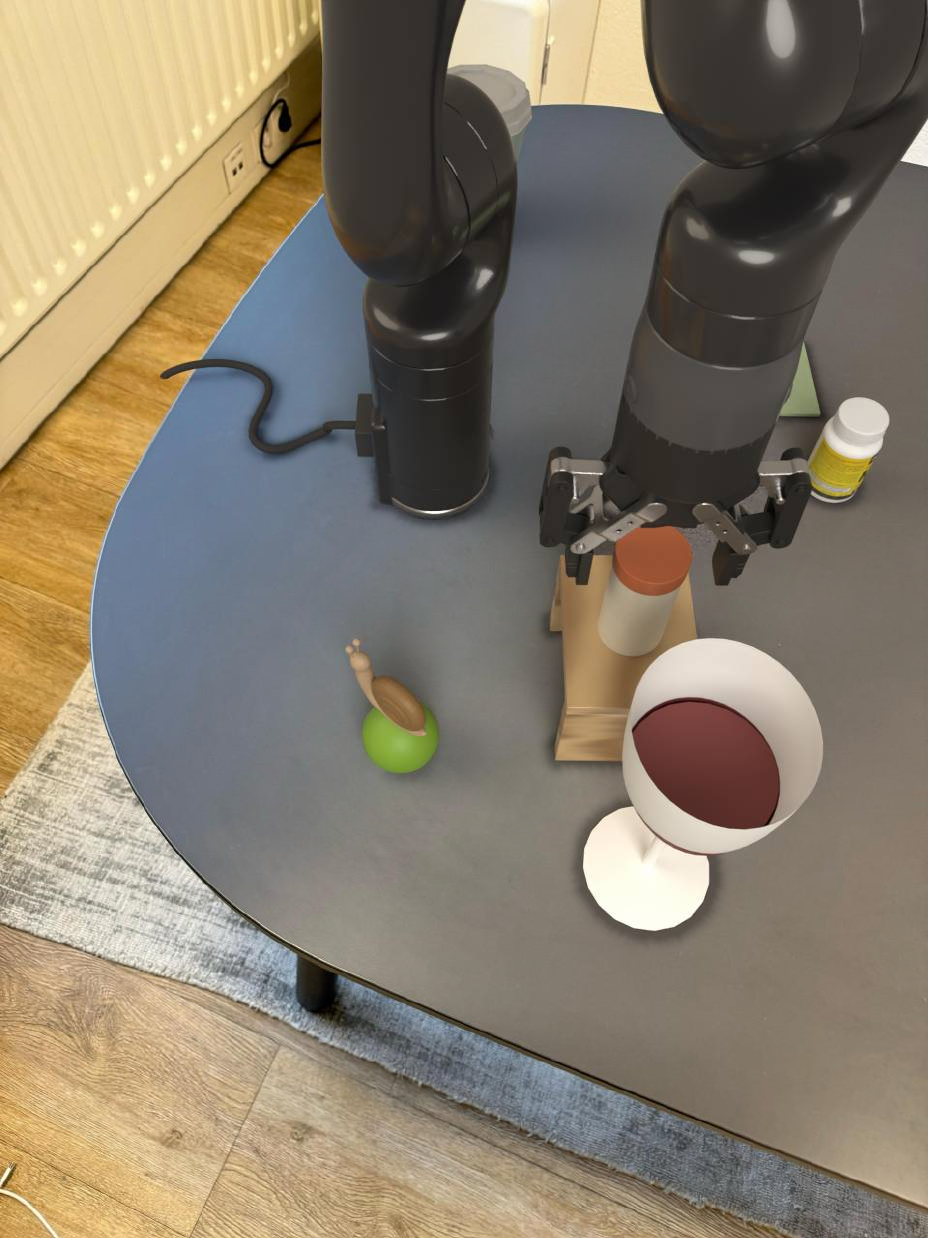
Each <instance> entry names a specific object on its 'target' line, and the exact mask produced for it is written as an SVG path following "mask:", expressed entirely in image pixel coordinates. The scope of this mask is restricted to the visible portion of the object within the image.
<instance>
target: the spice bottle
mask: <svg viewBox="0 0 928 1238" xmlns="http://www.w3.org/2000/svg"><path fill="white" fill-rule="evenodd" d="M612 555H613V556H612V567H611V571H610V575H609V579H608V583H607V587H606V591H605V595H604V599H603V603H602V607H601V611H600V615H599V619H598V632H599V635H600V638H601V639H602V641H603V642H604V644H605V645H606V646H607V647H608V648H610V649H611V650H612V651H614V652H616V653H618V654H621V655H624V656H632V657H633V656H641V655H645V654H647V653H649V652H651V651H652V650H654V649H655V648H656V647H657V646H658V644H659V643H660V641H661V638H662V636H663V633H664V630H665V628H666V625H667V622H668V619H669V617H670V614H671V611H672V609H673V606H674V603H675V601H676V598H677V595H678V593H679V590H680V587H681V585H682V583H683V582H684V580H685V578H686V576H687V573H688V571H689V572H690V568H691V566H692V562H693V550H692V547H691V545H690V541H689V540H688V538H687V537H686V536H685V535H684V534H683V532H681V531H680V530H679V529H677V527H672V526H665V527H658V528H641V527H640V526H639V527H638V528H636V529H635V530H633V531H631V532H630V533H628V534H627V535H625V536H624V537H622V538H621V539H619V540H617V541H616V542H615V544H614V548H613V552H612Z"/></svg>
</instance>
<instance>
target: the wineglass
mask: <svg viewBox="0 0 928 1238" xmlns="http://www.w3.org/2000/svg"><path fill="white" fill-rule="evenodd" d="M823 758H824V739H823V733H822V728H821V724H820V720H819V717H818V713H817V711H816V709H815V707H814V704H813V702H812V701H811V698H810V697H809V695H808V693H807V692H806V691H805V689H804V687H803V686H802V684H801V683H800V682H799V681H798V679H796V677H795V676H794V675H793V673H791V672H790V671H789V670H788V669H787V668H786V667H785V666H784V665H782V663H780V661H778V660H776V659H775V658H774V657H772V656H770V655H769V654H767V653H766V652H764V651H762V650H760V649H759V648H756V647H754V646H752V645H750V644H746V643H743V642H740V641H737V640H733V639H732V640H731V639H727V638H714V637H713V638H711V637H709V638H708V637H707V638H697V640H692V641H689V642H685V643H682V644H679V645H677V646H675V647H673V648H671V649H669V650H668V651H666V652H665V653H663V654H662V655H660V656H659V657H658V658H657V659H656V660H655V661H654V662H653V663H652V664H651V665H650V666H649V667H648V669H647V670H646V672H645V673H644V674H643V676H642V678H641V680H640V682H639V684H638V686H637V688H636V691H635V694H634V698H633V701H632V705H631V708H630V712H629V715H628V719H627V724H626V729H625V735H624V743H623V752H622V761H621V763H622V765H621V766H622V776H623V781H624V786H625V789H626V792H627V794H628V798H629V801H630V803H631V805H632V806H627V807H621V808H618V809H617V810H614V811H613V812H611V813H610V814H607V815H606V816H604V817H603V818H602V819H601V820H600V821H599V822H598V824H596V825H595V827H594V828H592V830H591V831H590V833H589V836H588V838H587V841H586V842H585V843H586V844H585V846H584V848H583V860H582V861H583V863H582V869H583V873H584V877H585V881H586V884H587V888H588V891H589V892H590V893H591V895H592V896H593V898H594V900H595V901H596V903H597V904H598V906H599V907H601V909H603V910H604V912H606V913H607V914H608V915H609V916H611V917H612V918H613V919H614V921H615V920H616V921H617V922H620V923H622V924H624V925H627V926H628V927H630V928H633V929H636V930H637V929H639V930H646V931H652V932H653V931H654V932H656V931H660V930H665V929H666V930H667V929H670V928H674V927H677V926H678V925H680V924H682V923H683V922H685V921H687V920H688V919H690V918H692V916H693V914H695V913H696V911H697V910H698V909H699V907H700V906H701V905H702V904H703V902H704V901H705V896H706V894H707V891H708V888H709V885H710V862H709V860H708V857H712V856H720V855H724V854H728V853H730V852H731V853H732V852H735V851H737V850H740V849H744V848H745V847H747V846H749V845H751V844H753V843H755V842H757V841H759V840H761V839H763V838H765V837H766V836H767V835H769V834H771V833H772V832H773V831H775V830H776V829H777V828H778V827H779V826H780V825H782V824H783V823H784V822H785V821H787V820H788V819H789V818H791V816H792V815H794V814H795V813H796V812H797V811H798V810H799V808H800V807H801V806H802V805H803V804H804V803H805V802H806V801H807V799H808V798H809V797H810V795H811V793H812V792H813V790H814V788H815V787H816V784H817V782H818V779H819V776H820V774H821V770H822V763H823Z"/></svg>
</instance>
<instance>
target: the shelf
mask: <svg viewBox="0 0 928 1238" xmlns="http://www.w3.org/2000/svg"><path fill="white" fill-rule="evenodd" d="M612 556H613V554H594V555H593V560H592V565H591V570H590V575H589V580H588V585H576V583H575V577H568V576H567V574H566V570H565V554H560V555H559V561H558V565H557V566H558V567H557V571H556V578H555V584H554V590H553V596H552V603H551V609H550V614H549V615H550V616H549V631H550V632H561V636H562V637H561V638H562V658H563V660H562V661H563V681H564V682H563V683H564V701H563V704H562V705H563V706H562V709H561V714H560V719H559V724H558V728H557V733H556V738H555V741H554V760H555V761H581V762H582V761H583V762H585V761H586V762H587V761H588V762H622V752H623V743H624V735H625V729H626V724H627V719H628V715H629V712H630V708H631V705H632V701H633V698H634V694H635V691H636V688H637V686H638V684H639V682H640V680H641V678H642V676H643V674H644V673H645V672H646V670H647V669H648V667H649V666H650V665H651V664H652V663H653V662H654V661H655V660H656V659H657V658H658V657H659V656H660V655H662V654H663V653H665V652H666V651H668V650H669V649H671V648H673V647H675V646H677V645H679V644H682V643H685V642H689V641H692V640H697V639H698V634H697V627H696V619H695V611H694V603H693V595H692V594H693V593H692V588H691V587H692V585H691V579H690V570H689V571H688V573H687V576H686V578H685V580H684V582H683V583H682V585H681V587H680V590H679V593H678V595H677V598H676V601H675V603H674V606H673V609H672V611H671V614H670V617H669V619H668V622H667V625H666V628H665V630H664V633H663V636H662V638H661V641H660V643H659V644H658V646H657V647H656V648H655V649H654V650H652V651H651V652H649V653H647V654H645V655H641V656H633V657H632V656H624V655H621V654H618V653H616V652H614V651H612V650H611V649H610V648H608V647H607V646H606V645H605V644H604V642H603V641H602V639H601V638H600V635H599V632H598V619H599V615H600V611H601V607H602V603H603V599H604V595H605V591H606V587H607V583H608V579H609V575H610V571H611V567H612Z"/></svg>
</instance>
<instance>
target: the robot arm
mask: <svg viewBox="0 0 928 1238" xmlns="http://www.w3.org/2000/svg"><path fill="white" fill-rule="evenodd" d="M466 2H467V0H320V14H321V16H320V17H321V48H322V49H321V50H322V51H321V56H322V57H321V58H322V61H321V63H322V65H321V66H322V67H321V71H322V72H321V124H320V125H321V131H320V132H321V134H320V137H321V138H320V170H321V182H322V183H321V185H322V192H323V199H324V203H325V207H326V211H327V214H328V218H329V221H330V224H331V226H332V229H333V232H334V234H335V236H336V239H337V240H338V242H339V244H340V246H341V247H342V249H343V251H344V252H345V254H346V255H347V257H348V258H349V259H350V261H351V262H352V263H353V264H354V265H355V266H356V267H357V269H359V270H360V272H362V273H363V274H364V275H365V276H367V277H368V279H367V280H366V284H365V287H364V289H363V294H362V295H363V296H362V314H363V323H364V333H365V343H366V351H367V360H368V361H367V362H368V369H369V378H370V388H371V393H364V392H363V393H362V392H361V393H358V394H357V402H356V403H357V405H356V412H355V413H356V414H355V420H329V421H325V422H324V423H323V424H322V427H320V428H318V429H316V430H314V431H312V432H310V433H308V434H306V435H303V436H301V437H299V438H297V439H294V440H292V441H289V442H287V443H282V444H269V443H266V442H263V441H262V440H261V439H260V438H259V437H258V429H259V425H260V422H261V421H262V419H263V416H264V414H265V412H266V411H267V409H268V407H269V404H270V402H271V400H272V397H273V393H274V386H273V382H272V379H271V378H270V377H269V375H268V374H267V373H266V372H265V371H263V370H262V369H260V367H259V368H258V367H256V366H254V365H252V364H250V363H247V362H244V361H243V362H242V361H240V360H235V359H227V358H206V359H197V360H191V361H187V362H183V363H180V364H176V365H174V366H172V367H169V368H167V369H166V370H164V371H163V372H161V373H160V374H159V378H160V379H161V380H169V379H170V378H171V377H174V376H176V375H178V374H181V373H185V372H189V371H192V370H198V369H207V368H228V369H234V370H239V371H244V372H245V373H249V374H250V375H252V376H254V377H256V378H258V379H259V380H260V381H261V382H262V383H263V385H264V392H263V395H262V398H261V400H260V402H259V404H258V406H257V408H256V410H255V412H254V414H253V416H252V418H251V420H250V423H249V426H248V439H249V441H250V442H251V444H252V446H253V447H255V448H256V449H257V450H258V451H261V452H262V453H267V454H273V455H275V454H278V455H279V454H284V453H288V452H289V453H290V452H292V451H294V450H296V449H299V448H300V447H303V446H305V445H307V444H309V443H312V442H314V441H316V440H320V439H321V438H323V437H326V436H328V435H330V434H331V433H332V432H333V430H352V431H353V430H354V438H355V440H354V441H355V447H356V455H357V457H358V458H373V459H374V467H375V468H374V469H375V477H376V485H377V495H378V502H379V503H380V504H381V505H382V504H383V505H384V504H386V505H393V507H395V508H396V509H398V510H399V511H401V512H403V513H404V514H407V515H409V516H412V517H416V518H419V519H423V520H443V519H449V518H452V517H456V516H459V515H461V514H463V513H465V512H467V511H469V510H470V509H471V508H473V507H474V506H475V505H476V504H478V502H479V501H480V500H481V499H482V498H483V496H484V494H485V493H486V491H487V489H488V488H487V487H488V486H489V482H490V437H491V439H492V441H493V442H494V440H495V439H494V438H495V429H494V428H493V426H492V424H491V412H492V392H493V390H492V389H493V366H494V342H495V322H496V313H497V311H498V308H499V305H500V304H501V301H502V299H503V296H504V294H505V291H506V288H507V284H508V280H509V276H510V275H509V274H510V268H511V262H512V261H511V259H512V251H513V241H514V233H515V232H514V231H515V223H516V216H517V215H516V214H517V203H518V187H519V186H518V181H519V180H518V163H517V162H516V156H515V150H514V146H513V141H512V138H511V135H510V132H509V130H508V127H507V125H506V123H505V121H504V119H503V117H502V115H501V113H500V111H499V110H498V108H497V107H496V105H495V104H494V102H493V101H492V100H491V99H490V98H489V96H488V95H487V94H486V93H485V92H484V91H483V90H481V89H480V88H479V87H478V86H476V85H475V84H473V83H472V82H470V81H468V80H467V79H465V78H463V77H460V76H457V75H454V74H448V73H447V69H448V68H449V64H450V63H449V62H450V57H451V53H452V50H453V45H454V40H455V37H456V33H457V30H458V27H459V24H460V21H461V17H462V15H463V12H464V8H465V6H466ZM639 2H640V3H639V4H640V26H641V37H642V38H641V39H642V47H643V56H644V61H645V65H646V69H647V74H648V75H647V76H648V79H649V83H650V85H651V88H652V91H653V94H654V97H655V100H656V102H657V105H658V107H659V109H660V110H661V112H662V114H663V116H664V118H665V120H666V122H667V123H668V125H669V126H670V128H671V129H672V130H673V132H674V133H675V134H676V136H677V137H678V138H679V139H680V141H682V143H683V144H684V145H685V146H686V147H688V149H690V150H691V151H692V152H693V153H694V154H695V155H696V156H698V157H700V158H701V159H703V161H701V163H699V164H698V165H697V166H695V167H694V168H693V169H691V170H690V171H689V173H687V174H686V175H685V176H684V178H682V179H681V181H679V183H678V184H677V185H676V187H675V188H674V190H673V191H672V193H671V195H670V197H669V200H668V202H667V204H666V206H665V209H664V213H663V214H662V215H663V216H662V219H661V221H660V222H661V223H660V227H659V230H658V235H657V241H656V245H655V251H654V252H655V253H654V258H653V263H652V268H651V271H650V272H651V273H650V278H649V282H648V287H647V293H646V297H645V300H644V303H643V305H642V308H641V311H640V314H639V316H638V318H637V322H636V325H635V327H634V331H633V335H632V339H631V342H630V347H629V353H628V359H627V363H626V369H625V374H624V378H623V384H622V389H621V394H620V399H619V405H618V410H617V416H616V421H615V426H614V432H613V436H612V442H611V445H610V447H609V449H608V450H607V451H606V452H605V453H604V454H603V455H602V456H601V457H600V459H599V460H597V459H577V458H576V459H573V453H572V450H571V449H570V448H569V447H567V446H556V447H553V448H552V449H551V450H550V451H549V453H548V458H547V462H546V467H545V473H544V477H543V482H542V488H541V493H540V498H539V503H538V508H537V509H538V517H539V535H538V536H539V539H538V540H539V544H540V546H542V547H543V548H548V549H549V548H550V549H551V548H556V547H558V546H559V545H561V544H562V545H565V549H564V555H565V570H566V574H567V576H568V577H575V583H576V585H588V580H589V575H590V570H591V565H592V560H593V555H595V552H594V549H595V548H597V547H598V546H600V545H601V544H603V543H604V542H606V541H610V542H612V543H616V541H617V540H619V539H621V538H622V537H624V536H625V535H627V534H628V533H630V532H631V531H633V530H635V529H636V528H638V527H639V526H640V527H641V528H658V527H665V526H672V527H674V528H678V529H697V527H698V525H703V524H704V525H705V526H706V528H708V529H709V530H710V531H711V533H712V534H713V535H714V536H715V537H716V538H717V539H718V540H717V542H716V545H715V548H714V550H713V553H712V556H711V567H712V575H713V581H714V585H715V586H716V587H727V586H729V584H730V583H731V580H732V579H737V578H739V576H741V575H742V573H743V571H744V569H745V567H746V565H747V562H748V561H749V558H750V555H751V554H754V553H755V552H756V551H757V550H758V547H759V546H762V545H767V544H769V546H770V547H771V548H772V549H777V550H778V549H779V550H780V549H785V548H787V547H790V546H791V544H792V543H793V540H794V537H795V535H796V532H797V531H798V527H799V525H800V522H801V520H802V518H803V515H804V512H805V510H806V507H807V504H808V502H809V499H810V497H811V492H812V489H813V487H812V483H811V478H810V474H809V469H808V465H807V461H808V459H807V456H806V451H805V449H803V448H802V447H798V446H794V447H790V448H787V449H786V450H784V451H783V452H782V453H781V456H780V459H779V460H763V458H764V455H765V453H766V450H767V449H768V445H769V443H770V440H771V438H772V435H773V433H774V430H775V428H776V426H777V423H778V420H779V418H780V417H781V416H780V413H781V410H782V408H783V406H784V404H785V403H786V401H787V400H788V398H789V397H790V394H791V391H792V386H793V381H794V378H795V375H796V372H797V368H798V364H799V360H800V356H801V351H802V345H803V342H804V340H805V338H806V334H807V331H808V328H809V326H810V323H811V321H812V319H813V315H814V313H815V310H816V308H817V305H818V303H819V300H820V298H821V295H822V293H823V290H824V288H825V286H826V283H827V280H828V279H829V275H830V273H831V269H832V266H833V263H834V260H835V258H836V255H837V253H838V250H839V249H840V248H841V247H842V244H843V243H844V242H845V241H846V240H847V237H848V236H849V235H850V233H851V232H852V231H853V229H854V228H855V227H856V225H857V224H858V222H859V221H860V220H861V219H862V218H863V216H864V215H865V214H866V212H867V211H868V210H869V209H870V208H871V206H872V204H873V203H874V202H875V200H876V199H877V197H878V196H879V195H880V193H881V191H882V189H883V188H884V186H885V185H886V184H887V182H888V181H889V179H890V177H891V176H892V175H893V173H894V172H895V170H896V169H897V168H898V166H899V164H900V163H901V161H902V160H903V158H904V157H905V156H906V154H907V152H908V150H909V149H910V147H911V146H912V144H914V141H915V140H916V139H917V137H918V135H920V132H921V131H922V129H923V128H924V126H925V125H926V124H927V122H928V0H639ZM591 486H594V487H593V489H592V492H591V494H590V496H589V497H588V498H586V499H585V500H584V501H582V502H581V503H580V496H582V495H583V494H585V492H586V490H587V489H588V488H589V487H591ZM760 486H761V487H764V488H765V490H766V495H767V498H766V501H765V504H764V506H763V511H760V512H756V513H752V511H751V510H750V509H749V508H748V506H746V504H745V503H744V502H743V501H744V500H745V499H747V498H749V497H751V495H753V494H754V493H755V492H756V491H757V490H758V489H759V487H760ZM577 503H579V504H578V505H577V506H575V507H574V508H572V509H571V510H570V507H571V504H577ZM569 510H570V511H569ZM618 510H619V511H620V512H619V511H618ZM592 521H593V522H592ZM591 522H592V523H591Z"/></svg>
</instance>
